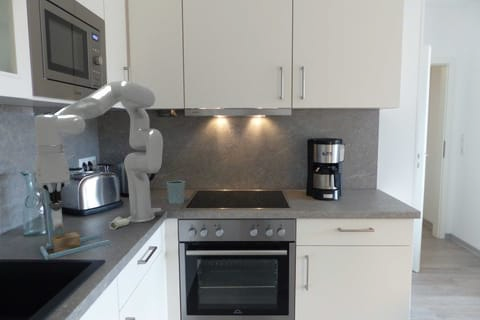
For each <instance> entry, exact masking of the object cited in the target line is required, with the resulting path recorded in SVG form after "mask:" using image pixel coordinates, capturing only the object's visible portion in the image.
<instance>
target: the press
mask: <svg viewBox="0 0 480 320" xmlns="http://www.w3.org/2000/svg"><path fill="white" fill-rule="evenodd" d="M42 185H46V184H42ZM51 185H52V189H53V190H54V191H55V186H56V183H51ZM43 198H44V207H45V213H46V214H45V215H46V224H47V234H48V242H47V243H45V244H46V245H45V246H43V245H41V246H40V253H41V254H42V256H43V258H44V260H45V261H47V260H50V259H54V258H59V257H62V256H67V255H71V254H73V253H77V252H78V253H79V252H83V251H86V250H90V249H95V248H98V247H101V246H105V245H110V240H109V239H107V240H102V241H98V242H94V243H91V244H90V243H89V244H86V245H83V246H81V247H78V248H73V249H69V250H65V251H61V252H57V253H55V252H54V253H50V254H49V253H48V252H47V251H49V250H53V247H52V237H53V236H56V234H60V235H62V234H63V229H61V230H54V228H53V219H52V209H49V206H48V203H50V202H52V201H50V198H49V191H47V190H46V189H44V188H43ZM58 201H60V200H58ZM99 238H102V233H97V234H93V235H88V236H84V237H80V243H82V242H86V241H87V242H88V241H90V240H95V239H99Z"/></svg>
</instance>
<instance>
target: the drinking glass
mask: <svg viewBox="0 0 480 320" xmlns="http://www.w3.org/2000/svg"><path fill="white" fill-rule="evenodd" d="M185 183H186V181H185V180H181V179H180V180H169V181H167V182H166V188H167V197H168V198H167V199H168V204H169V205H180V204H181V205H182V204H184V202H185V188H186V187H185V186H186V184H185Z"/></svg>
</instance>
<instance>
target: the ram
mask: <svg viewBox="0 0 480 320" xmlns="http://www.w3.org/2000/svg"><path fill="white" fill-rule="evenodd" d="M48 206H49V209H52V219H53V228H54V230H61V229H62V230H63V229H64V222H63V221H64V220H63V213H62V208H63V207H64V200H59V203H54V204H53V203H52V202H50V203H48Z"/></svg>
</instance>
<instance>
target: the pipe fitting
mask: <svg viewBox="0 0 480 320" xmlns="http://www.w3.org/2000/svg"><path fill="white" fill-rule="evenodd" d="M127 218H128V217H124V218H122V217H121V216H117V217H115V218H114V219H113V220H112V221H110V222H108V229H110V230H111V231H115V230H117V229H118V228H121V227H126V226H128V225H129V224H130V223H131V222H130V221H129V220H128V219H127Z"/></svg>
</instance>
